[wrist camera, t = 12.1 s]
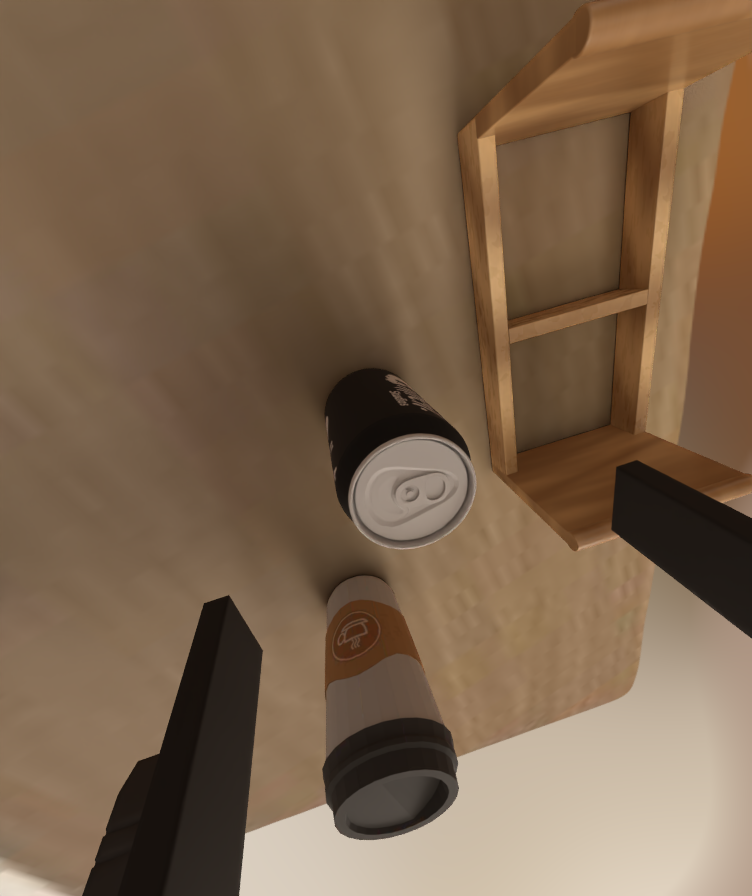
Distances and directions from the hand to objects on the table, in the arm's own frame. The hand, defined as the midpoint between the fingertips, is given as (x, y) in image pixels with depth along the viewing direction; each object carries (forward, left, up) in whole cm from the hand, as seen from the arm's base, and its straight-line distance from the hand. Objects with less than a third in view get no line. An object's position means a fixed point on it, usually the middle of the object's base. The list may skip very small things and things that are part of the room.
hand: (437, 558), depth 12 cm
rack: (+8, +14, -16) cm, 22 cm away
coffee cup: (+11, -15, -16) cm, 25 cm away
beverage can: (0, 0, -16) cm, 16 cm away
